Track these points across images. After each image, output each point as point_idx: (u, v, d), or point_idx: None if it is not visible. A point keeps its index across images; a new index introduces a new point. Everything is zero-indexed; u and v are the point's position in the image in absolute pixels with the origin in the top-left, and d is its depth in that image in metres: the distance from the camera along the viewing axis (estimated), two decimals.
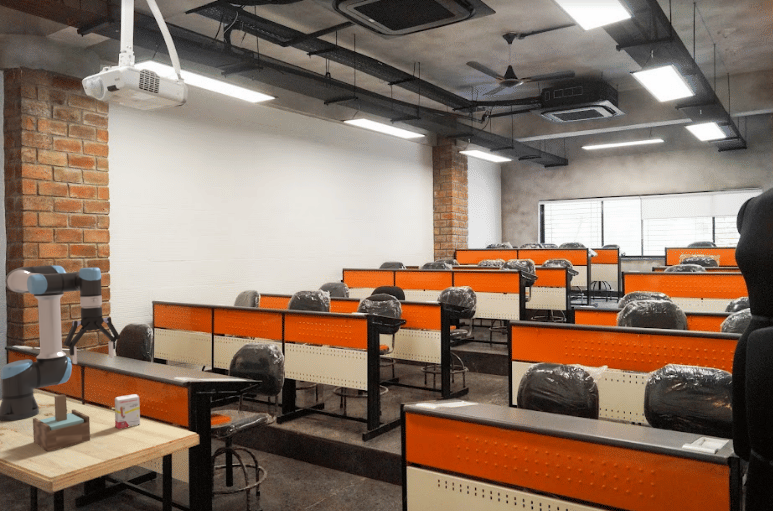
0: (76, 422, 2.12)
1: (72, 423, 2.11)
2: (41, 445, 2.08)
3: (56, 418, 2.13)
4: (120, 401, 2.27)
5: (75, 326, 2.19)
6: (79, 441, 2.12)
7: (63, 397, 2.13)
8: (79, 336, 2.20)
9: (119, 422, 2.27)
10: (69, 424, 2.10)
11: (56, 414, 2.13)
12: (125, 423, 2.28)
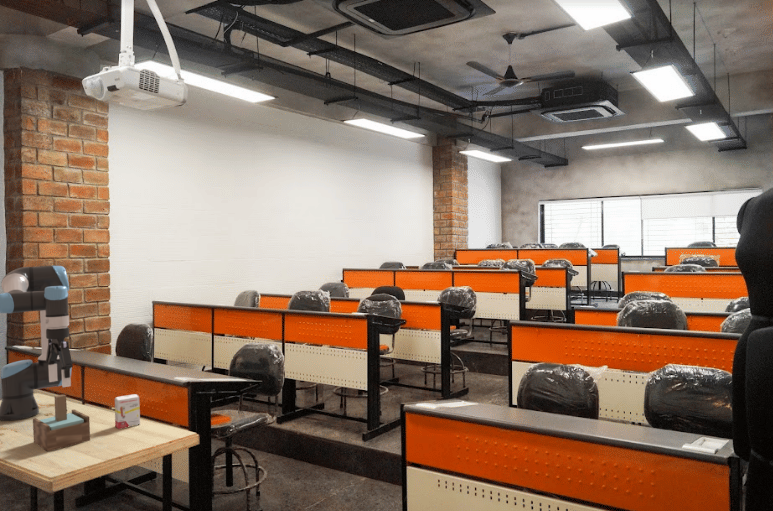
0: (76, 422, 2.12)
1: (72, 423, 2.11)
2: (41, 445, 2.08)
3: (56, 418, 2.13)
4: (120, 401, 2.27)
5: (48, 344, 2.16)
6: (79, 441, 2.12)
7: (63, 397, 2.13)
8: (50, 355, 2.16)
9: (119, 422, 2.27)
10: (69, 424, 2.10)
11: (56, 414, 2.13)
12: (125, 423, 2.28)
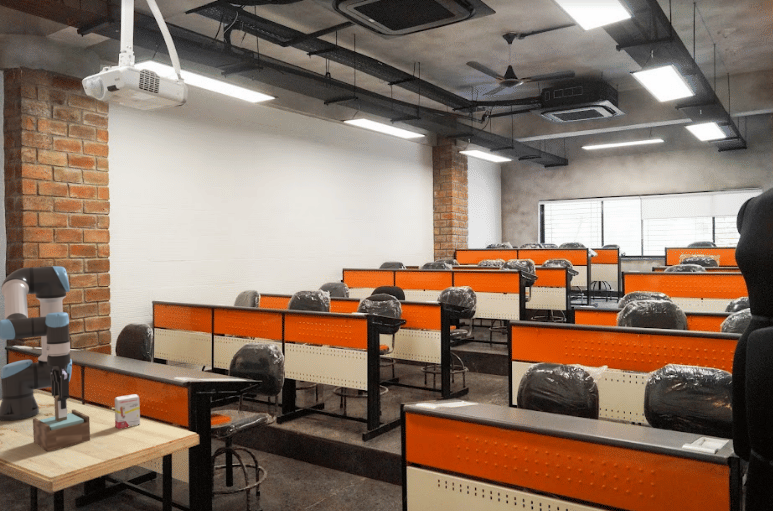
0: (76, 422, 2.12)
1: (72, 423, 2.11)
2: (41, 445, 2.08)
3: (56, 418, 2.13)
4: (120, 401, 2.27)
5: (50, 375, 2.16)
6: (79, 441, 2.12)
7: None
8: (54, 386, 2.14)
9: (119, 422, 2.27)
10: (69, 424, 2.10)
11: (56, 414, 2.13)
12: (125, 423, 2.28)
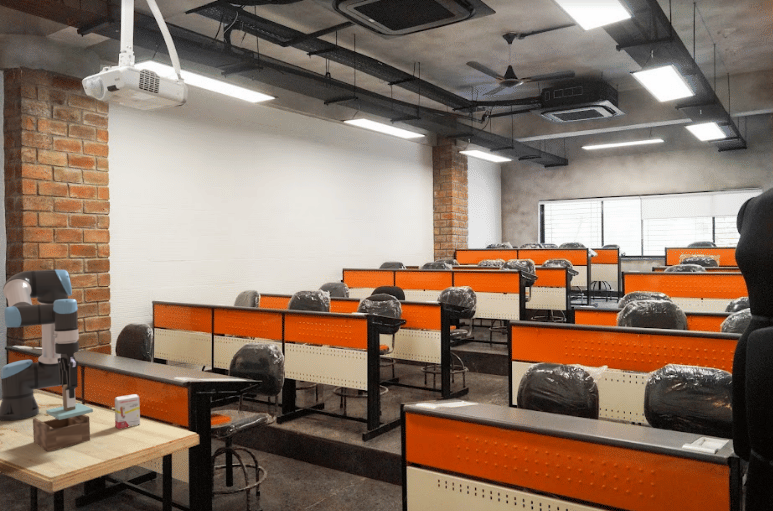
0: (85, 412, 2.05)
1: (81, 413, 2.04)
2: (41, 445, 2.08)
3: (64, 408, 2.07)
4: (120, 401, 2.27)
5: (58, 363, 2.10)
6: (79, 441, 2.12)
7: None
8: (62, 375, 2.08)
9: (119, 422, 2.27)
10: (78, 414, 2.04)
11: (64, 403, 2.06)
12: (125, 423, 2.28)
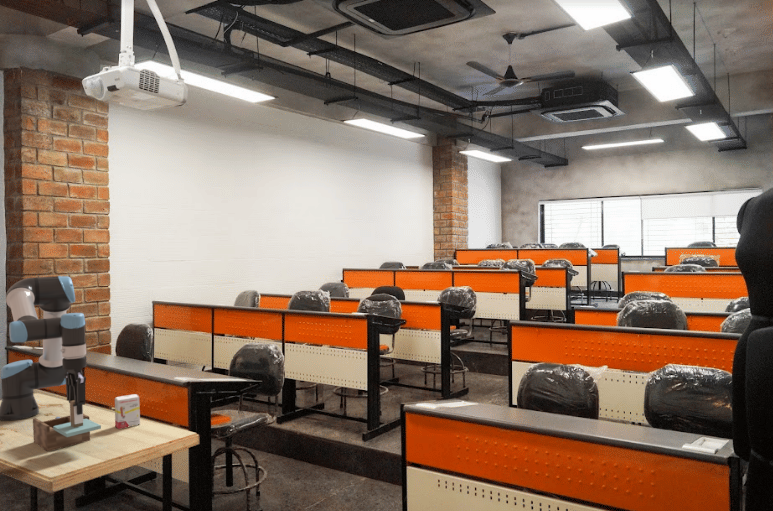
0: (93, 428, 2.01)
1: (89, 429, 2.00)
2: (41, 445, 2.08)
3: (72, 424, 2.02)
4: (120, 401, 2.27)
5: (66, 378, 2.06)
6: (79, 441, 2.12)
7: None
8: (69, 390, 2.04)
9: (119, 422, 2.27)
10: (86, 430, 2.00)
11: (72, 420, 2.02)
12: (125, 423, 2.28)
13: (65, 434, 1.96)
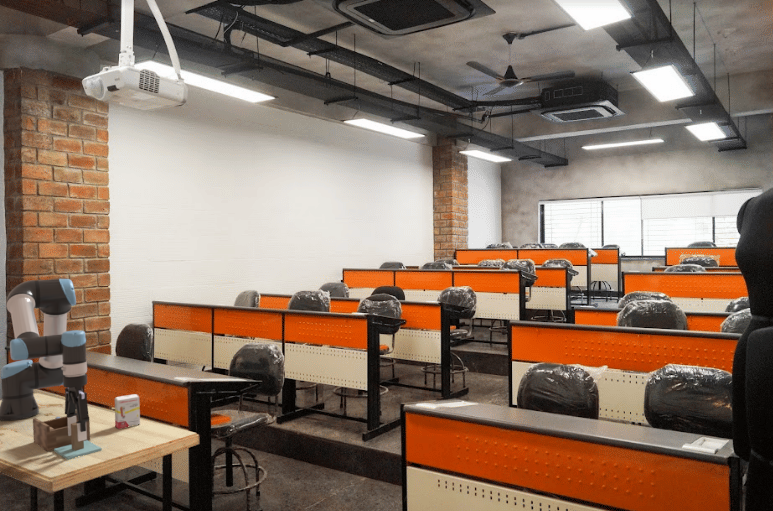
0: (94, 451, 2.02)
1: (89, 452, 2.01)
2: (41, 445, 2.08)
3: (72, 447, 2.03)
4: (120, 401, 2.27)
5: (65, 393, 2.06)
6: None
7: None
8: (68, 406, 2.05)
9: (119, 422, 2.27)
10: (86, 454, 2.00)
11: (72, 443, 2.03)
12: (125, 423, 2.28)
13: (66, 458, 1.96)
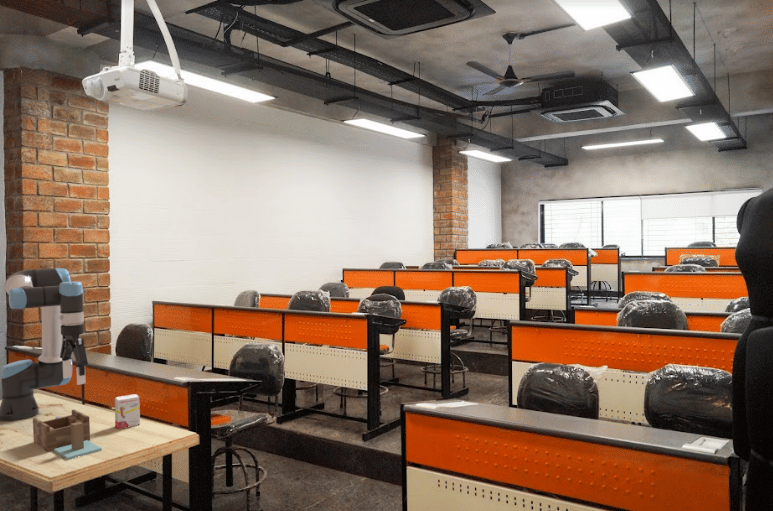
0: (94, 451, 2.02)
1: (89, 452, 2.01)
2: (41, 445, 2.08)
3: (72, 447, 2.03)
4: (120, 401, 2.27)
5: (63, 340, 2.13)
6: None
7: (80, 425, 2.03)
8: (64, 351, 2.13)
9: (119, 422, 2.27)
10: (86, 454, 2.00)
11: (72, 443, 2.03)
12: (125, 423, 2.28)
13: (66, 458, 1.96)
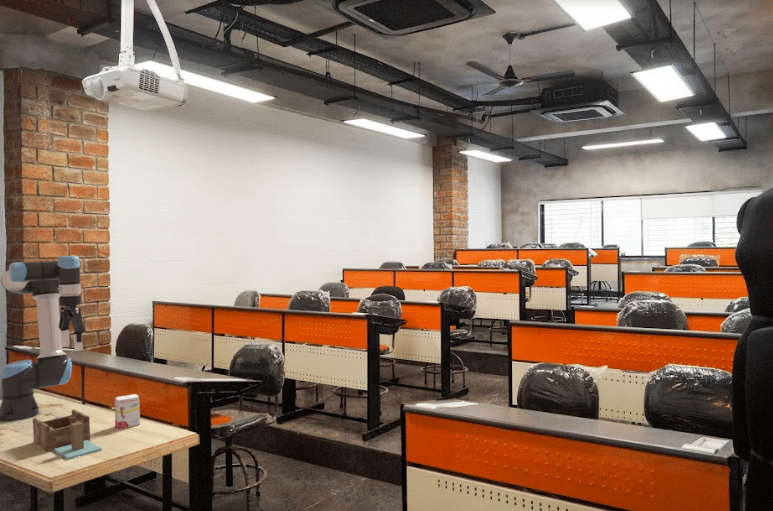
0: (94, 451, 2.02)
1: (89, 452, 2.01)
2: (41, 445, 2.08)
3: (72, 447, 2.03)
4: (120, 401, 2.27)
5: (61, 311, 2.29)
6: None
7: (80, 425, 2.03)
8: (62, 321, 2.28)
9: (119, 422, 2.27)
10: (86, 454, 2.00)
11: (72, 443, 2.03)
12: (125, 423, 2.28)
13: (66, 458, 1.96)
